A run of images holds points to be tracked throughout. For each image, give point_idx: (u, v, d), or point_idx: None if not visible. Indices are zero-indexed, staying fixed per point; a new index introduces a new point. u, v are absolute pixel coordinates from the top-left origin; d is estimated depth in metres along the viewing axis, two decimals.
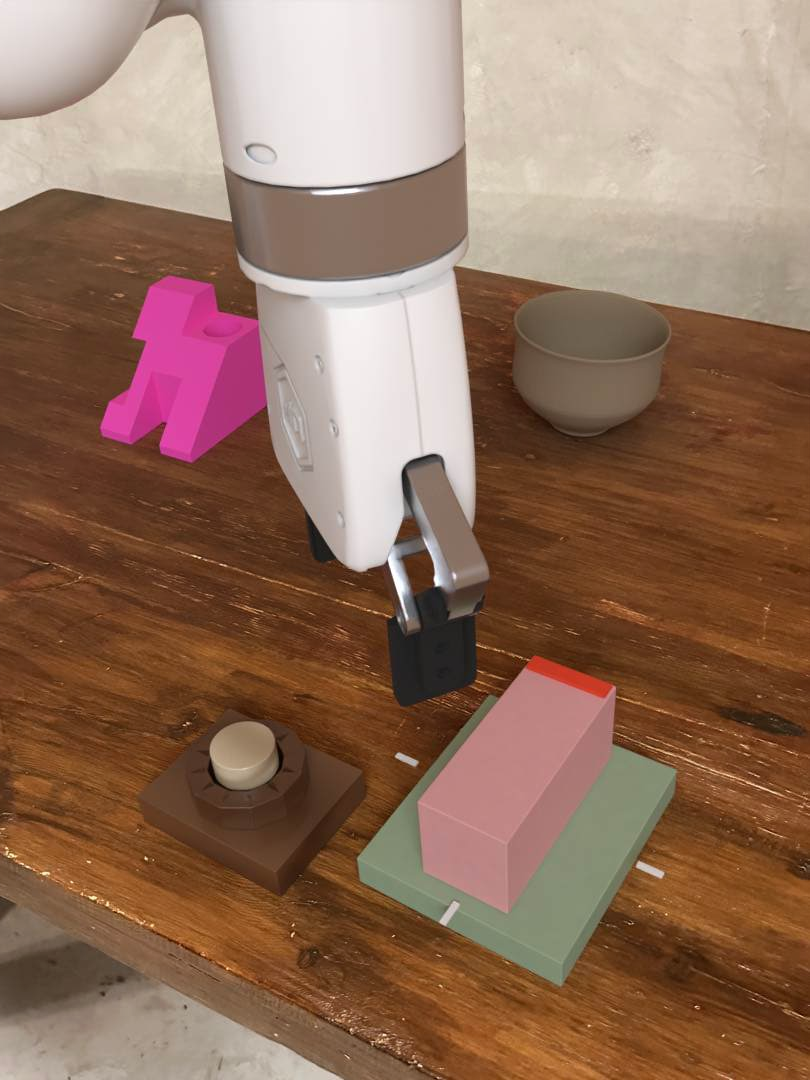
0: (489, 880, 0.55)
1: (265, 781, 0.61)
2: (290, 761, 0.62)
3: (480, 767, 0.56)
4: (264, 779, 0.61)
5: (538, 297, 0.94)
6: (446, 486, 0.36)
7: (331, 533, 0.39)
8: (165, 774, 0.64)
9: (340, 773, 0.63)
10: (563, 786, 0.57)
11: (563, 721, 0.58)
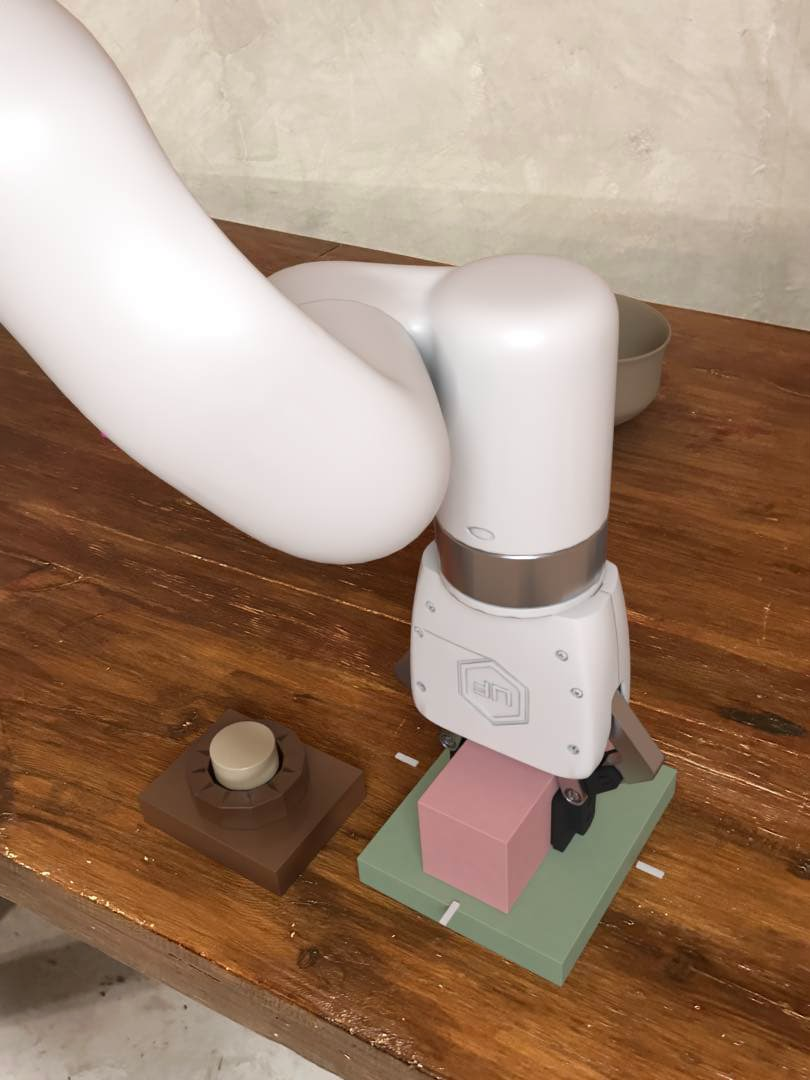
0: (489, 880, 0.55)
1: (265, 781, 0.61)
2: (290, 761, 0.62)
3: (480, 767, 0.56)
4: (264, 779, 0.61)
5: None
6: (629, 709, 0.52)
7: (551, 760, 0.52)
8: (165, 774, 0.64)
9: (340, 773, 0.63)
10: None
11: None
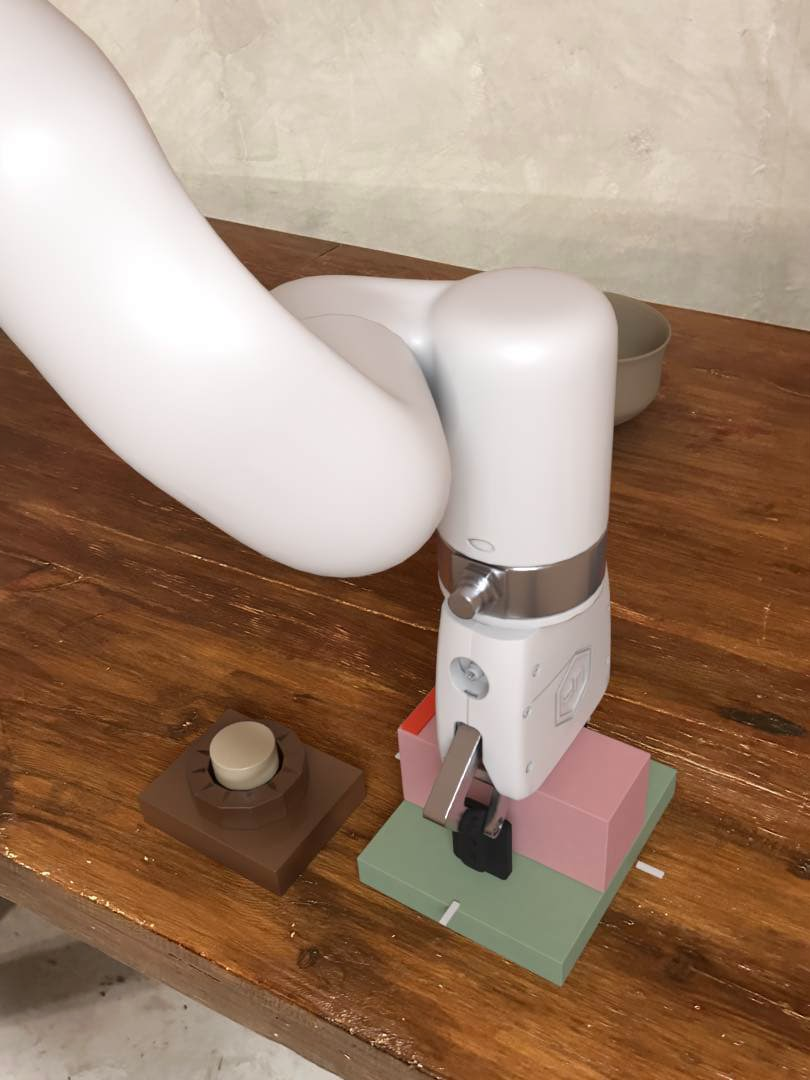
0: (639, 812, 0.58)
1: (265, 781, 0.61)
2: (290, 761, 0.62)
3: (559, 772, 0.56)
4: (264, 779, 0.61)
5: None
6: None
7: (599, 690, 0.57)
8: (165, 774, 0.64)
9: (340, 773, 0.63)
10: None
11: None
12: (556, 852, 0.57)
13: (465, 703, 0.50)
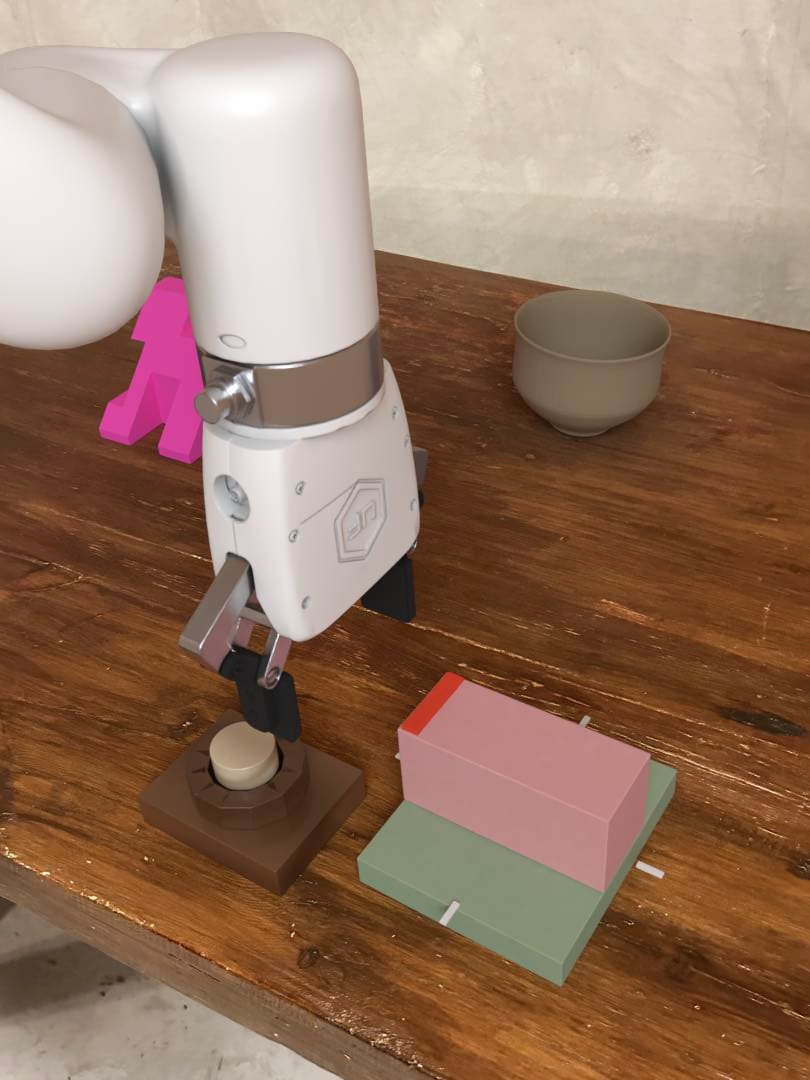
0: (639, 812, 0.58)
1: (265, 781, 0.61)
2: (290, 761, 0.62)
3: (559, 772, 0.56)
4: (264, 779, 0.61)
5: (538, 297, 0.94)
6: None
7: (404, 537, 0.53)
8: (165, 774, 0.64)
9: (340, 773, 0.63)
10: None
11: (494, 710, 0.59)
12: (556, 852, 0.57)
13: (231, 529, 0.46)
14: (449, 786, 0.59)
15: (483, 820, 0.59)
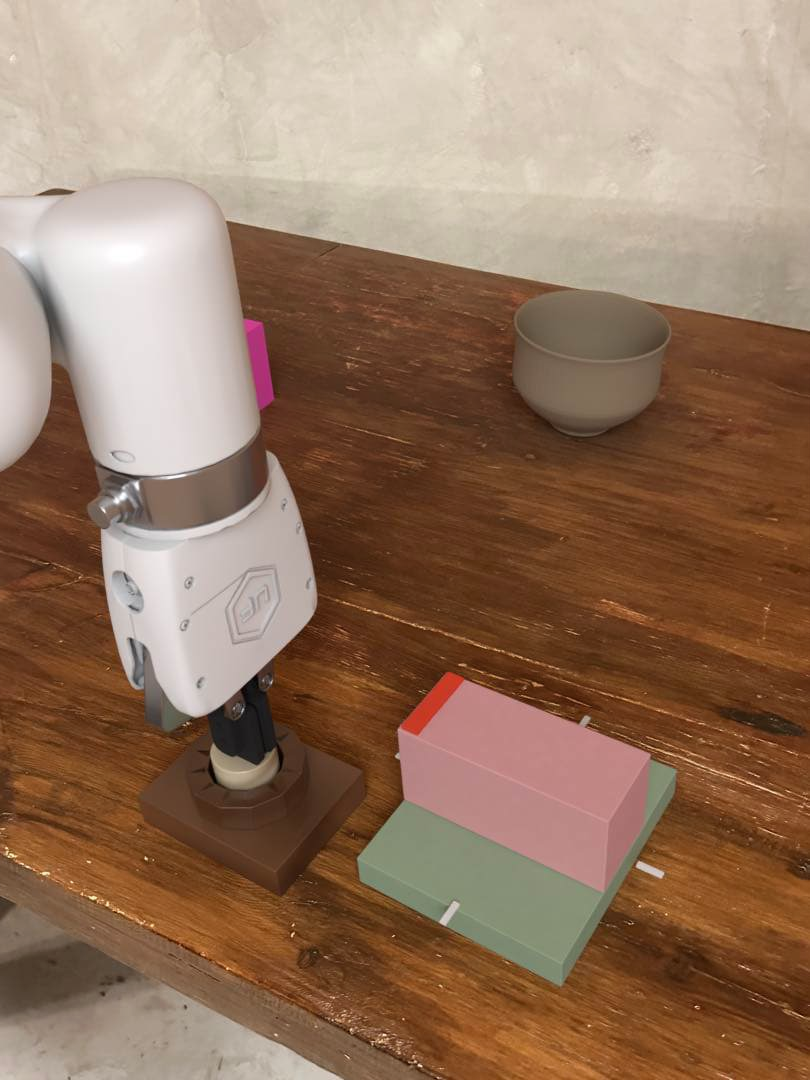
0: (639, 812, 0.58)
1: None
2: (290, 761, 0.62)
3: (559, 772, 0.56)
4: (264, 782, 0.61)
5: (538, 297, 0.94)
6: None
7: (301, 613, 0.57)
8: (165, 774, 0.64)
9: (340, 773, 0.63)
10: None
11: (494, 710, 0.59)
12: (556, 852, 0.57)
13: (129, 618, 0.51)
14: (449, 786, 0.59)
15: (483, 820, 0.59)
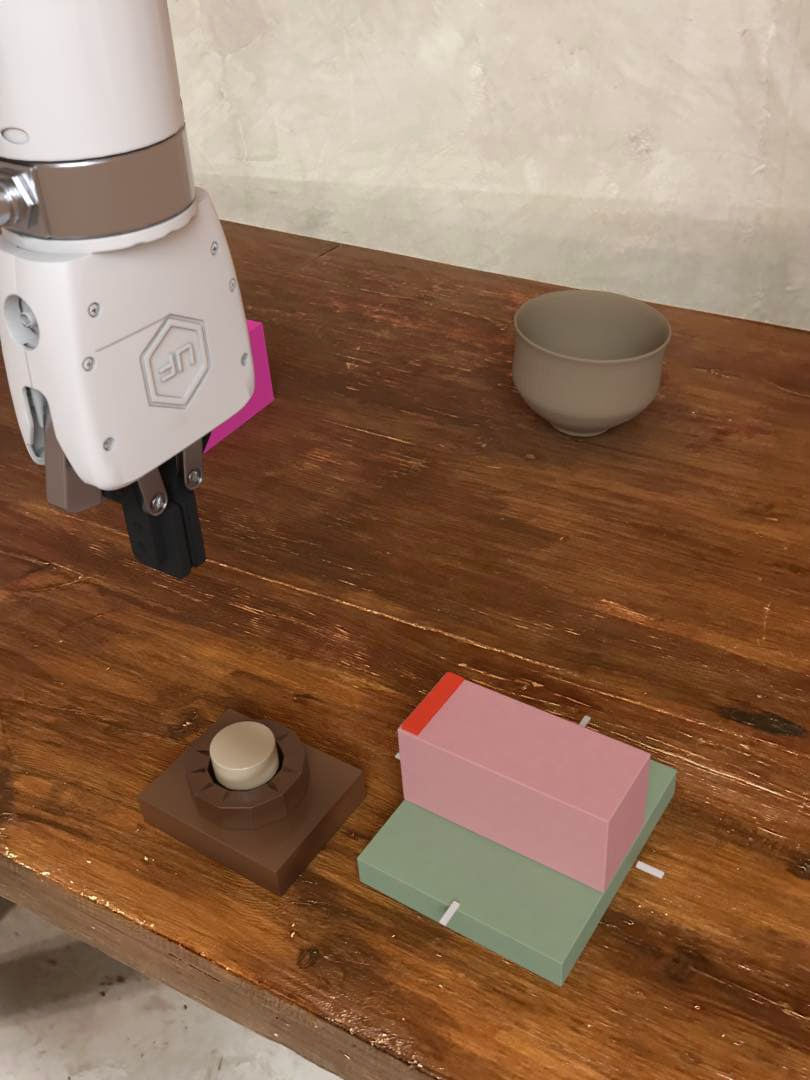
0: (639, 812, 0.58)
1: (265, 781, 0.61)
2: (290, 761, 0.62)
3: (559, 772, 0.56)
4: (264, 779, 0.61)
5: (538, 297, 0.94)
6: None
7: (235, 394, 0.50)
8: (165, 774, 0.64)
9: (340, 773, 0.63)
10: None
11: (494, 710, 0.59)
12: (556, 852, 0.57)
13: (24, 358, 0.43)
14: (449, 786, 0.59)
15: (483, 820, 0.59)
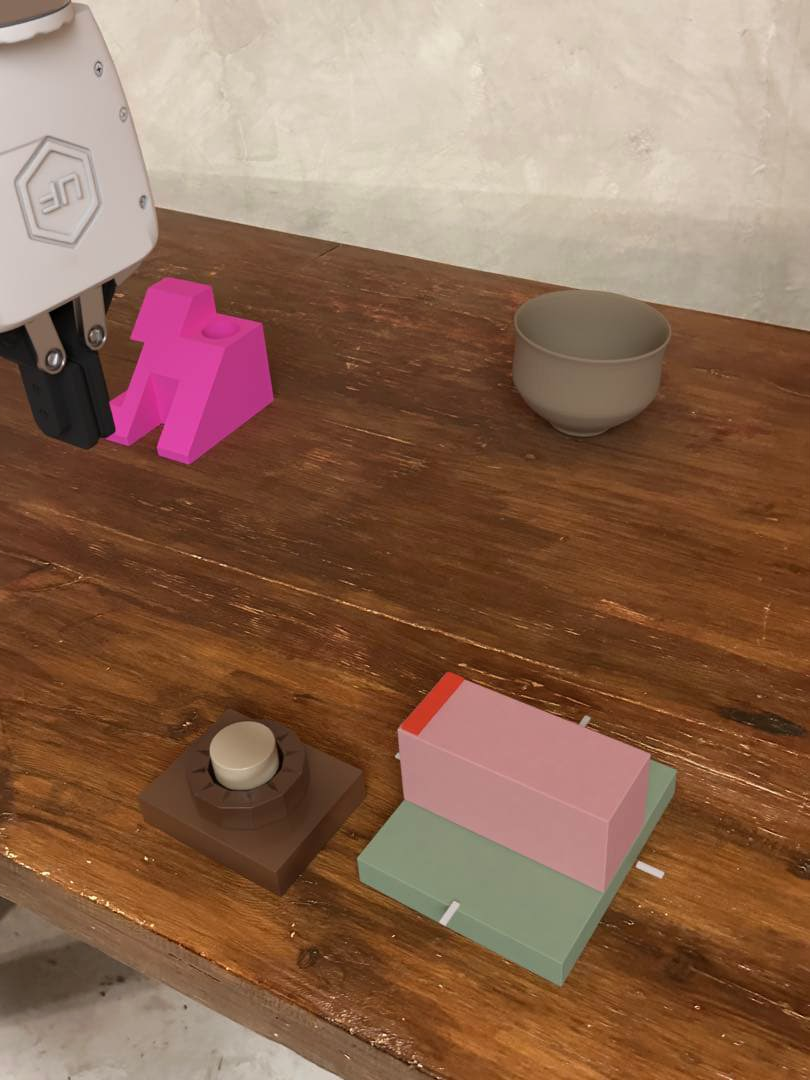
0: (639, 812, 0.58)
1: (265, 781, 0.61)
2: (290, 761, 0.62)
3: (559, 772, 0.56)
4: (264, 779, 0.61)
5: (538, 297, 0.94)
6: None
7: (134, 240, 0.46)
8: (165, 774, 0.64)
9: (340, 773, 0.63)
10: None
11: (494, 710, 0.59)
12: (556, 852, 0.57)
13: None
14: (449, 786, 0.59)
15: (483, 820, 0.59)
